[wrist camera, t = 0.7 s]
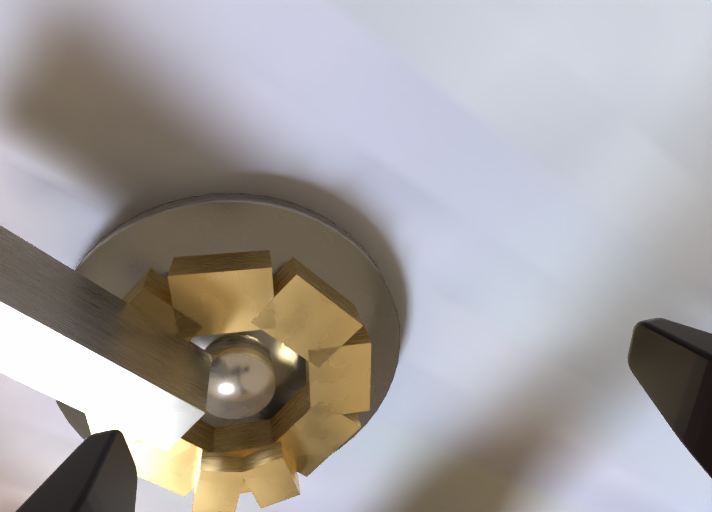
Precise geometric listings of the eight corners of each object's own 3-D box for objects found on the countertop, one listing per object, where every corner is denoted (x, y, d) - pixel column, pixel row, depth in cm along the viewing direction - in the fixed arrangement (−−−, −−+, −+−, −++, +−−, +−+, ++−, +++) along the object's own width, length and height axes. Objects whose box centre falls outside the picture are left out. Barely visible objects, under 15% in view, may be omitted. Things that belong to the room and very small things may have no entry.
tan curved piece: (411, 349, 22) (449, 424, 18) (251, 497, 24) (253, 596, 20) (46, 62, 15) (-34, 75, 11) (-145, 309, 17) (-279, 404, 12)
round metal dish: (452, 325, 24) (475, 358, 22) (255, 506, 27) (256, 554, 24) (209, 113, 18) (203, 126, 15) (-21, 377, 20) (-58, 426, 18)
